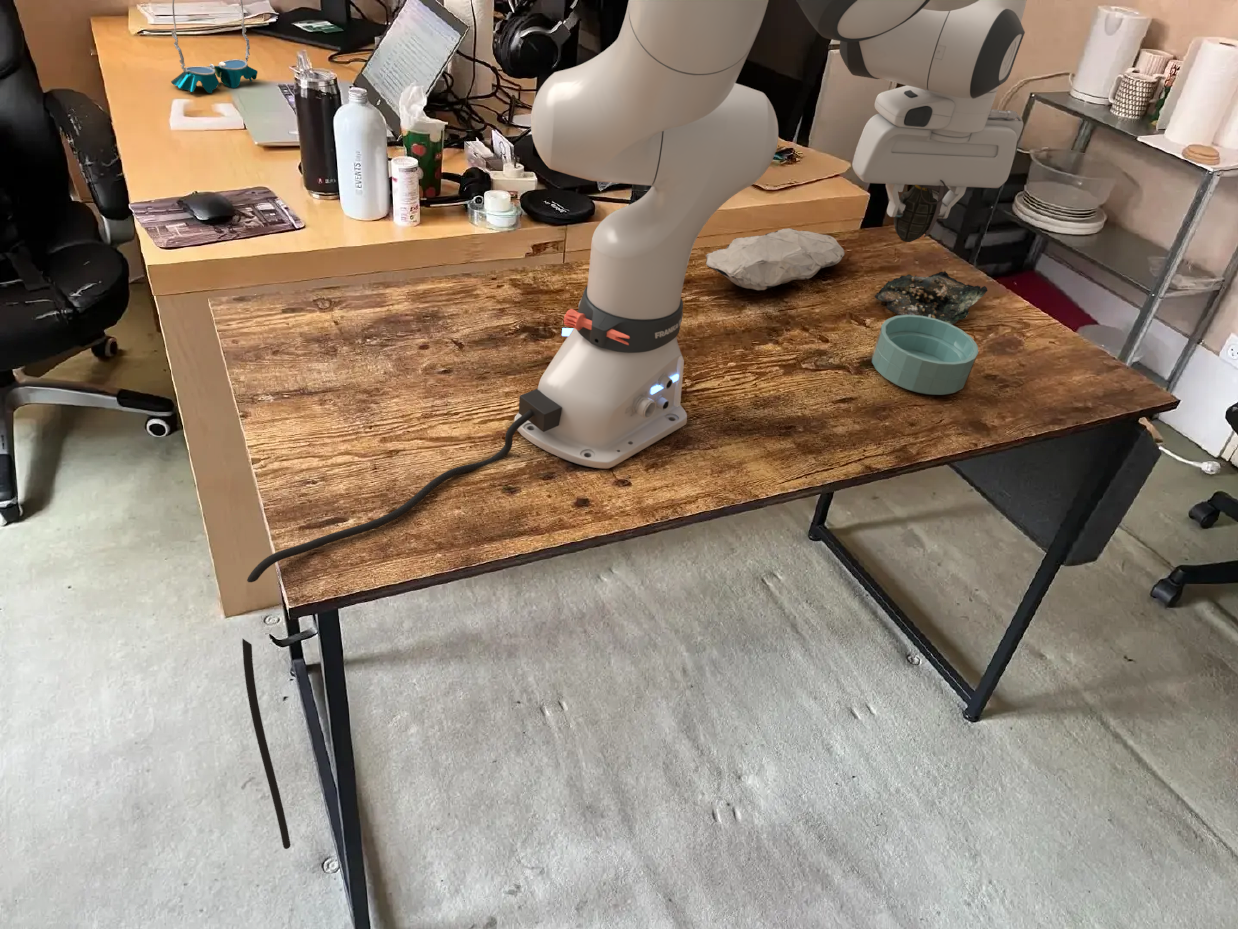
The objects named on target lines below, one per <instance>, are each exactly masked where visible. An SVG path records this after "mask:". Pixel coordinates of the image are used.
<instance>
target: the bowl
mask: <svg viewBox="0 0 1238 929" xmlns="http://www.w3.org/2000/svg"><path fill="white" fill-rule="evenodd" d="M978 356H979V346H978V344H977V343H976V341H975V340H974V338H973V337H972V336H971V335H970V334H968V333H967V332H965V331H964V330H963V329H961V328H959V327H957V326H956V325H954V324H952V325H951V324H949V323H947V322H944V321H941V320H938V319H935V318H930V317H925V316H920V315H895V316H892V317H890V318H887V319H886V320H884V322H883V323H882V324H881V326H880V329H879V333H878V335H877V338H876V342H875V344H874V347H873V350H872V352H871V363H872V365H873V367H874V369H875V370H876V372H878V373H879V374H880V375H881V376H882V377H883V378H884V379H886V380H888V381H889V382H890V383H892V384H894V385H895V386H898V387H900V388H901V389H902V388H903V389H904V390H908V391H910V392H913V393H918V394H922V395H933V396H935V395H936V396H944V395H951V394H955V393H957V392H958V391H961V390H962V389H964V387H965V385H966V384H967V382H968V381H969V380H968V379H969V377H970V375H971V373H972V370H973V367H974V365H975V362H976V360H977V357H978Z"/></svg>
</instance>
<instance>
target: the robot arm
mask: <svg viewBox="0 0 1238 929" xmlns="http://www.w3.org/2000/svg"><path fill="white" fill-rule="evenodd" d="M796 2H797V4H798V6H799V7H800V9H801V10H802V12H803V14H804V16H805V17H806V19H807V20H808V22H809V23H810V24H811V26H812V27H813V28H814V30H815V31H816V32H817V33H818V34H819V35H820V36H821V37H822V38H824V39H826V40H827V39H828V40H832V41H836V42H837V41H838V42H839V50H838V52H839V55H840V57H841V60H842V62H843V63H844V65H845V67H846V68H847V70H848V72H849V73H850V74H851V75H852V76H855V77H861V78H867V79H875V80H884V81H888V82H892V83H895V84H899V85H903V86H900V87H896V88H893V89H888V90H884V91H881V92H880V93H879V94H877V96H876V98H875V101H874V110H876V111H877V113H876V114H874V115H873V116H871V117H870V118H869V119H868V120H867V121H866V124H865V125H864V127H863V130H862V132H861V135H860V137H859V140H858V143H857V145H856V148H855V152H854V155H853V158H852V163H851V165H852V166H851V167H852V169H853V172H854V174H855V175H856V176H857V178H858V179H860V181H861V182H863V183H864V184H865V183H866V184H881V185H882V184H885V189H886V193H887V197H888V205H887V207H886V214H887V215H888V216H889V217H890V218H894V217H902V216H903V211H904V210H905V207H906V205H905V204H904V203H902V201H901V200H899V199H900V194H899V193H903V192H904V188H905V186H907V185H909V186H911V185H912V186H915V185H933V186H940V185H941V186H944V185H943V183H942V182H941V181H940V180H942V181H943V182H944V183H945V185H946V188H947V189H948V191H947V192H946V195H945V197H944V198H943V201H942V206H941V209H940V212H939V215H938V217H937V219H943V220H944V219H945V220H946V219H947V218H948V217H949V214H950V212H951V210H952V209H951V208H952V207H954V206H955V204H956V203H958V202H959V201H960V199H962V198H963V197H964V195H965V193H966V190H967V188H983V189H984V188H987V189H990V188H991V189H999V188H1000V187H1001V186H1003V185H1004V184H1005V183H1006V182H1007V181H1008V179H1009V176H1010V173H1011V170H1012V166H1013V164H1014V163H1013V162H1014V160H1015V154H1016V150H1017V145H1018V141H1019V139H1020V137H1021V133H1022V131H1023V129H1024V121H1023V118H1022V116H1021V115H1019V114H1018V112H1017V111H1016V110H1013V109H1007V110H1006V109H1005V110H1001V109H997V108H993V105H994V102H995V99H996V96H997V93H998V91H999V88H1000V86H1001V85H1003V84H1005V83H1006V82H1007V81H1008V79H1009V77H1010V75H1011V73H1012V70H1013V67H1014V64H1015V61H1016V58H1017V55H1018V53H1019V50H1020V47H1021V44H1022V43H1023V42H1022V41H1023V38H1024V36H1025V33H1026V31H1025V29H1024V27H1023V25H1022V21H1023V17H1024V13H1025V9H1026V5H1027V0H796ZM768 3H769V0H628V2H627V7H626V11H625V15H624V19H623V22H622V25H621V28H620V31H619V34H618V37H617V38H616V39H615V41H614V42H612V44H610V46H608V47H607V48H606V49H605V50H603V51H602V52H600V53H598V55H596V56H594V57H592V58H591V59H589V60H587V61H585V62H583V63H581V64H578V65H576V66H573V67H570V68H565V69H563V70H558V71H554V72H553V73H552V74H551V75H550V76H548V78H547V79H545V81H544V82H543V84H542V85H541V86H540V88H539V89H538V91H537V93H536V96H535V98H534V100H533V104H532V107H531V113H530V132H531V138H532V141H533V145H534V147H535V149H536V152H537V154H538V155H539V157H540V159H541V160H542V162H543V163H544V164H545V165H546V166H547V167H548V169H550V170H551V171H552V170H553V171H556V172H559V173H562V174H565V175H569V176H571V177H575V178H580V179H584V180H587V181H592V182H602V183H615V184H628V185H640V186H651V187H650V188H649V190H648V191H647V192H646V193H645V194H644V195H643V196H642V197H641V198H639V199H638V200H636V201H634V202H633V203H630V204H628V205H625V206H622V207H620V208H617V209H616V210H614V211H612V212H611V213H609V214H608V215H606V216H605V217H604V218H603V219H602V220H601V221H600V223H599V224H598V225H597V227H596V228H595V229H594V232H593V234H592V236H591V245H590V255H589V267H588V277H587V285H586V286H585V288H584V290H583V293H582V296H581V298H580V300H579V302H578V306H577V307H578V309H577V310H575V309H573V308H569V309H568V310H566V313H565V315H564V317H563V324H564V326H565V327H562V328H561V329H562V330H561V336H562V337H566V338H565V340H564V341H563V343H562V344H561V345H560V347H559V349H558V350H557V352H556V354H555V355H554V356H553V358H552V359H551V361H550V363H549V364H548V366H547V367H546V369H545V371H544V372H543V374H542V375H541V377H540V379H539V382H538V386H537V388H535V389H532V390H530V391H528V392H525V393H523V394H520V395H519V400H518V412H517V413H516V415H515V416H514V420H513V422H512V424H511V425H510V426H509V427H508V429H507V431H506V432H505V435H504V436H505V437H504V444H503V447H502V448H501V449H500V450H499V451H497V453H496V454H495V455H493V456H491V457H489V458H487V459H485V460H482V461H478V462H473V463H468V464H465V465H460V466H457V467H454V468H451V469H448V470H447V471H445V472H442V473H440V475H438V476H436V477H435V478H433V479H432V480H431V481H429V482H428V483H427V484H426V485H424V487H422V488H421V489H420V490H418V492H417V493H416V494H414V495H413V497H411V498H410V499H409V500H407V501H405V503H404V504H402V505H401V506H399V507H397V508H396V509H394V510H392V511H390V512H389V513H387V514H385V515H382V516H381V517H378V518H375V519H373V520H371V521H367V522H365V523H362V524H359V525H355V526H352V527H349V528H345V529H342V530H338V531H335V532H332V533H329V534H325V535H323V536H320V537H318V538H315V539H313V540H310V541H307V542H304V543H302V544H298V545H295V546H291V547H288V548H285V549H281V550H279V551H277V552H274V553H272V554H270V555H269V556H267V557H265V558H264V559H262V560H261V561H260V562H258V564H257V565H256V566H255V567H254V568H253V569H252V570H251V572H250V574H249V575H248V577H247V579H246V581H247V583H255V582H256V581H258V580H259V578H260V577H261V576H262V575H263V573H264V572H265V571H266V570H268V568H270V567H271V566H273V565H274V564H276V563H278V562H279V561H282V560H285V559H288V558H291V557H295V556H298V555H301V554H304V553H307V552H310V551H312V550H314V549H318V548H320V547H323V546H325V545H328V544H331V543H334V542H336V541H340V540H343V539H347V538H350V537H354V536H356V535H360V534H363V533H366V532H370V531H373V530H375V529H378V528H381V527H382V526H385V525H387V524H389V523H391V522H393V521H395V520H397V519H398V518H400V517H402V516H403V515H405V514H406V513H408V512H409V511H411V510H412V509H414V507H416V506H417V505H418V504H419V503H420V502H422V501H423V499H424V498H426V497H427V496H428V495H430V493H432V491H434V490H435V489H436V488H437V487H439V486H440V485H441V484H443V483H445V482H446V481H448V480H449V479H452V478H453V477H456V476H459V475H462V474H466V473H470V472H472V471H475V470H478V469H480V468H483V467H484V466H487V465H489V464H493V463H495V462H498V461H501V459H503V458H505V457H506V456H507V454H509V452H510V451H511V450H512V447H513V438H514V435H515V433H516V432H518V433H519V434H520V435H521V436H522V437H523V438H524V439H525V440H527V441H528V442H530V443H531V444H533V445H534V446H536V447H538V448H539V449H541V450H543V451H546V452H548V453H549V454H551V455H554V456H557V457H558V458H560V459H562V460H565V461H568V462H571V463H574V464H577V465H580V466H583V467H589V468H596V469H610V468H614V467H616V466H617V465H619V464H621V463H622V462H624V461H626V460H627V459H629V458H631V457H633V456H634V455H636V454H638V453H639V452H641V451H642V450H644V449H646V448H648V447H650V446H651V445H653V444H655V443H656V442H658V441H660V440H662V439H663V438H666V437H667V436H668V435H670V434H672V433H674V432H675V431H678V430H679V429H681V428H683V427H684V426H686V425H687V423H688V413H687V411H686V410H685V409H684V408H683V406H682V405H681V399H682V388H683V381H684V380H683V378H684V366H685V360H684V356H683V353H682V351H681V349H680V345H679V342H678V338H677V336H678V335H679V333H680V330H681V324H682V321H683V316H684V311H683V310H684V301H683V298H682V293H683V288H684V284H685V278H686V273H687V269H688V265H689V262H690V258H691V255H692V251H693V248H694V245H695V243H696V240H697V239H698V236H699V235H700V233H701V231H702V230H703V228H704V227H705V225H706V224H707V223H708V221H709V220H710V218H711V217H712V216H713V215H715V213H716V212H717V211H718V210H719V209H720V208H721V207H722V206H723V205H724V204H725V203H727V202H728V201H729V200H730V199H731V198H733V197H734V196H736V195H737V194H739V193H740V192H742V191H745V189H747V188H749V187H751V186H752V185H754V184H756V182H758V181H759V180H760V179H761V178H762V177H763V176H764V174H765V173H766V172H767V171H768V169H769V167H770V166H771V165H772V162H773V160H774V157H775V155H776V151H777V148H778V143H779V122H778V118H777V115H776V111H775V109H774V106H773V104H772V102H771V101H770V99H769V98H768V97H767V95H766V93H764V92H763V91H760V90H757V89H754V88H751V87H749V86H746V85H743V84H740V83H737V80H738V78H739V75H740V73H741V72H742V69H743V67H744V64H745V63H746V60H747V58H748V56H749V53H750V51H751V49H752V48H753V45H754V42H755V40H756V38H757V36H758V33H759V31H760V28H761V27H762V23H763V20H764V17H765V14H766V10H767V7H768ZM241 641H242V642H241V644H242V645H241V646H242V660H243V672H244V678H245V687H246V693H247V700H248V706H249V709H250V715H251V719H252V724H253V728H254V733H255V736H256V742H257V745H258V748H259V752H260V756H261V760H262V761H261V762H262V764H263V767H264V772H265V775H266V780H267V782H268V787H269V791H270V794H271V798H272V802H273V806H274V809H275V814H276V818H277V824H278V828H279V831H280V837H281V842H282V847H283V849H284V850H288V849H290V848H291V845H292V844H291V839H290V834H289V830H288V829H289V828H288V824H287V820H286V816H285V812H284V807H283V806H284V805H283V802H282V798H281V795H280V790H279V789H280V788H279V786H278V782H277V777H276V774H275V770H274V766H273V762H272V758H271V755H270V750H269V746H268V742H267V737H266V734H265V729H264V724H263V720H262V715H261V709H260V705H259V701H258V699H259V698H258V693H257V688H256V681H255V672H254V670H255V669H254V661H253V644H252V643H250V642H249V641H247V640H246V639H244V638H242V640H241Z"/></svg>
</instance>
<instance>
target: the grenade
mask: <svg viewBox="0 0 1238 929" xmlns="http://www.w3.org/2000/svg"><path fill="white" fill-rule="evenodd" d="M940 181H941V182H942V183H943V185H944V186H941V185H940V186H933V185H913V187H911V188H910V190H909V191H903V192H902V194H901V195H900V196H899V200H901V201H902V203H904V204H905V205H906V207H905V210H904V211H903V216H902V217H893V225H894V231H895V233H896V234H897V236H898V237H899V239H900V240H901V241H903V242H905V243H912V242H914V241H916V240H918V239H920V238H922V237H923V238H926V237H928V236H929V235H930V234H931V232H932V231H933V229H934V226H935V225H936V222H937V219H938V218H937V217H938V215H939V212H940V209H941V206H942V201H943V198H944V197H945V195H946V194H947V186H946V185H945V183H944V182H943V181H942V180H940ZM933 191H936V192H938V198H935V197H934V194H933Z"/></svg>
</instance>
